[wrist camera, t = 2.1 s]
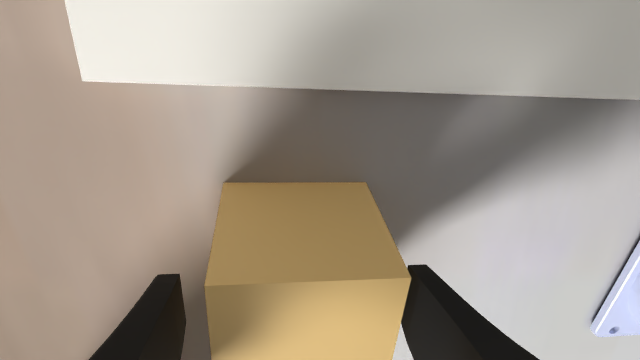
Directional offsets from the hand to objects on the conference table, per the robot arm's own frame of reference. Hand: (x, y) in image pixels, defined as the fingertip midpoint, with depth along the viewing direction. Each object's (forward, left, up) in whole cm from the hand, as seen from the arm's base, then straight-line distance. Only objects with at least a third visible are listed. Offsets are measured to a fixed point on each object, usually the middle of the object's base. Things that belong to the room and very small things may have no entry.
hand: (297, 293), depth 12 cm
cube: (0, 0, -3) cm, 3 cm away
